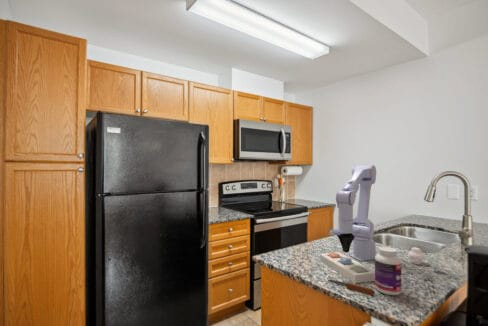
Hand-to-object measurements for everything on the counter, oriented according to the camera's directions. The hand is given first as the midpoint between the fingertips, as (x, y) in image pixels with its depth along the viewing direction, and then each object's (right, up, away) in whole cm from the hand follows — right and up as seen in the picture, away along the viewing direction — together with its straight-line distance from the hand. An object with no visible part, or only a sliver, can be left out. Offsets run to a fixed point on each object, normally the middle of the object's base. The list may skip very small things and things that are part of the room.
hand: (345, 251), depth 108 cm
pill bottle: (+7, -7, -19) cm, 21 cm away
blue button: (0, -5, 0) cm, 5 cm away
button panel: (0, -7, 0) cm, 7 cm away
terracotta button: (-2, -6, +8) cm, 10 cm away
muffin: (+34, -8, +7) cm, 36 cm away
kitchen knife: (-5, -8, -17) cm, 19 cm away
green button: (+2, -6, -8) cm, 10 cm away
